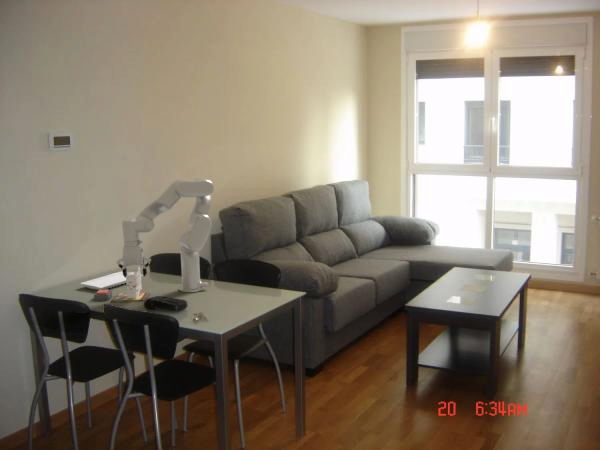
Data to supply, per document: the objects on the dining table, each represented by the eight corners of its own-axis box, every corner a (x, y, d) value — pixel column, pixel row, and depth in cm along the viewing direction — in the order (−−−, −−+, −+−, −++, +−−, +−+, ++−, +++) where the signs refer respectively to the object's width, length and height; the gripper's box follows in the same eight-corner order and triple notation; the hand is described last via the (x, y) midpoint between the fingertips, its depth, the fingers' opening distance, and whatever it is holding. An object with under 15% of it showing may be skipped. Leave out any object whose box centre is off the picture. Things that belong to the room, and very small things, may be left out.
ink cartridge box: (133, 293, 343) (131, 266, 341) (142, 294, 343) (140, 266, 340) (126, 298, 335) (125, 270, 332) (136, 298, 334) (134, 270, 332)
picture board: (150, 294, 345) (149, 292, 345) (144, 301, 333) (144, 299, 332) (117, 294, 345) (117, 293, 345) (110, 302, 332) (110, 300, 332)
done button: (109, 294, 341) (109, 289, 340) (106, 297, 336) (106, 292, 335) (99, 294, 341) (99, 289, 340) (96, 297, 336) (96, 292, 335)
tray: (144, 280, 375) (144, 274, 375) (101, 293, 349) (100, 287, 349) (123, 276, 384) (123, 270, 384) (79, 289, 358) (79, 283, 358)
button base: (112, 296, 342) (111, 290, 342) (108, 300, 335) (108, 294, 335) (98, 296, 342) (97, 291, 341) (94, 300, 335) (93, 295, 334)
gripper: (150, 240, 338) (153, 273, 341) (116, 242, 337) (120, 275, 341) (147, 244, 330) (150, 277, 334) (112, 246, 330) (116, 279, 333)
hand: (135, 276), depth 337 cm, fingers open, 9 cm apart
